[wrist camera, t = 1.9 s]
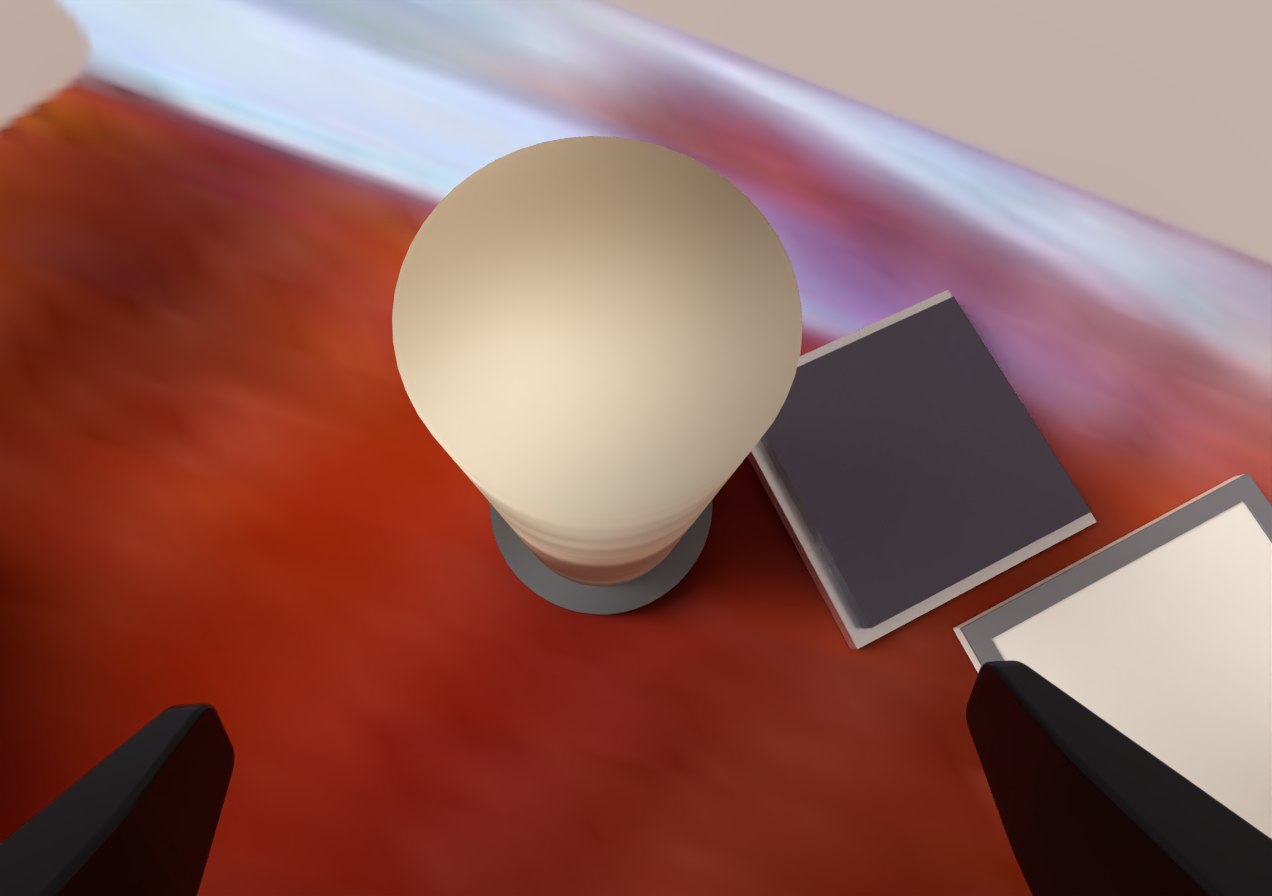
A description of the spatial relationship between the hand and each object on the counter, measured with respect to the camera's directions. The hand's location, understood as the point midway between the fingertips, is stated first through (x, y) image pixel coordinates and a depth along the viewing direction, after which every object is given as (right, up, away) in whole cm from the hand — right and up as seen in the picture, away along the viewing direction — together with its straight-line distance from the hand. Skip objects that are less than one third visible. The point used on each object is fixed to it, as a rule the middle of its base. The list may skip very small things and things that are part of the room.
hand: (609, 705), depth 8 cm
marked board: (+16, -4, +11) cm, 20 cm away
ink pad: (+8, +3, +12) cm, 15 cm away
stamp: (-1, +1, +12) cm, 12 cm away
